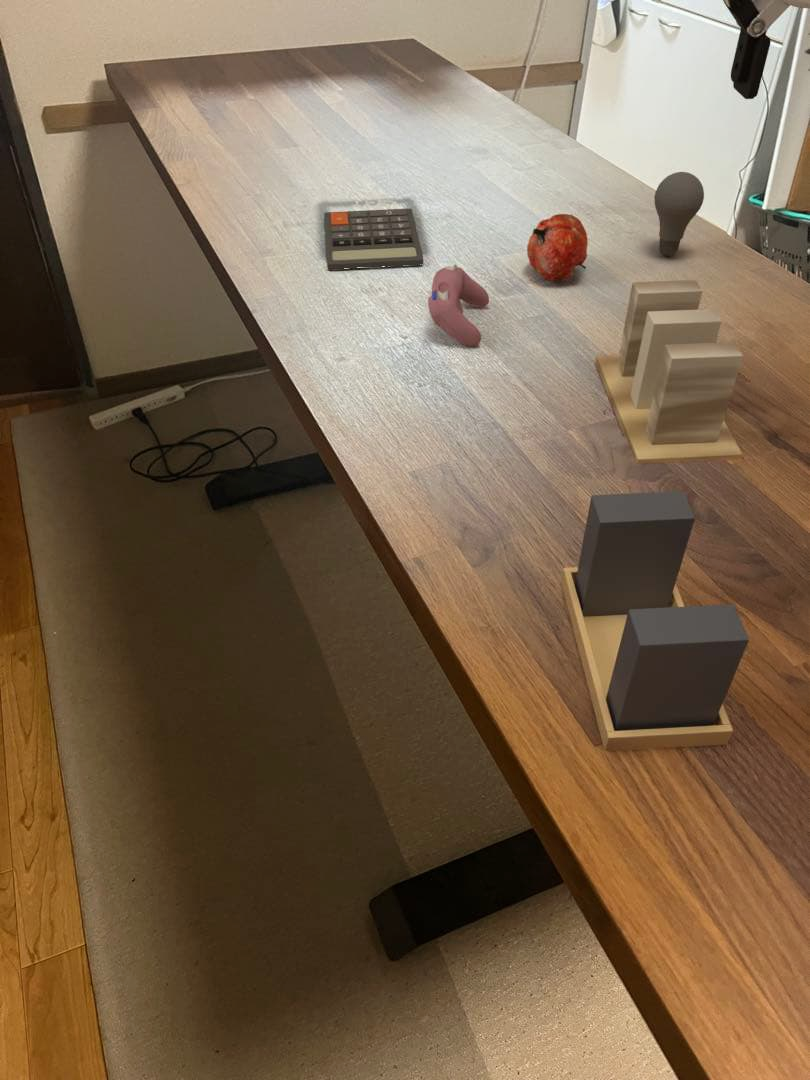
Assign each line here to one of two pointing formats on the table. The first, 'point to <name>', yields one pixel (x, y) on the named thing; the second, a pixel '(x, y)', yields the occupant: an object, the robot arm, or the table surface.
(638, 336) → the wooden block stand
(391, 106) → the table surface
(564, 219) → the pomegranate
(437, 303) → the video game controller
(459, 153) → the table surface
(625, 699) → the dark grey block
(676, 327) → the beige rectangular block
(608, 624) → the shallow beige tray
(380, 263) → the calculator
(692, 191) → the light bulb
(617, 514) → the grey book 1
